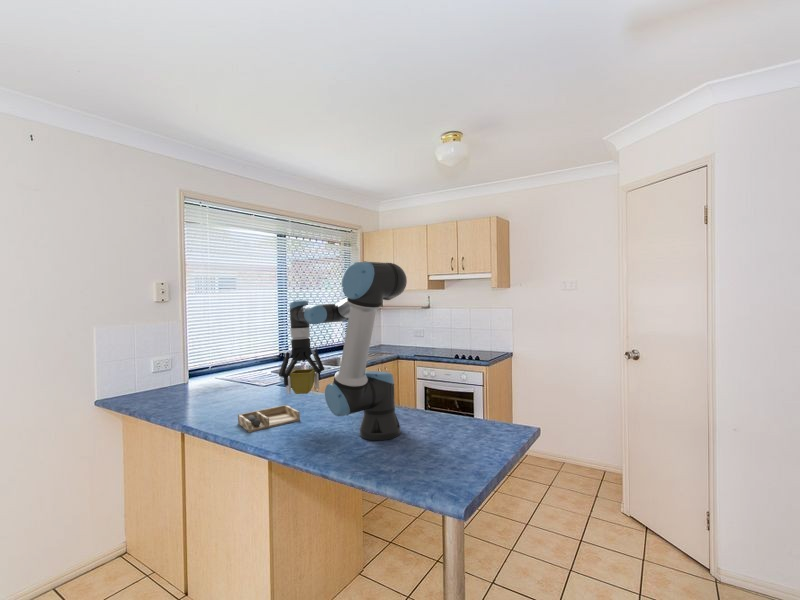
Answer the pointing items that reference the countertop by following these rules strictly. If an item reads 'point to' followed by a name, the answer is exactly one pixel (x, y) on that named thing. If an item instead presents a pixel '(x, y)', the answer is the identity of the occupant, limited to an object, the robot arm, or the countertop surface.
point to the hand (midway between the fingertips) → (303, 390)
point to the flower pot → (302, 380)
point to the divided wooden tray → (269, 417)
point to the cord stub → (253, 420)
